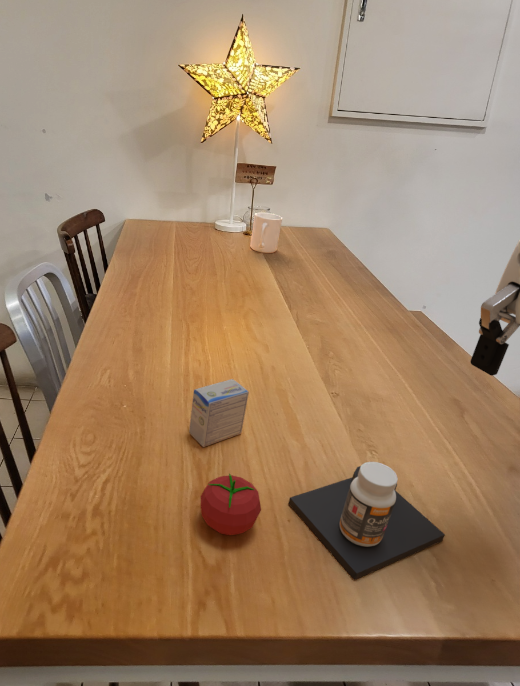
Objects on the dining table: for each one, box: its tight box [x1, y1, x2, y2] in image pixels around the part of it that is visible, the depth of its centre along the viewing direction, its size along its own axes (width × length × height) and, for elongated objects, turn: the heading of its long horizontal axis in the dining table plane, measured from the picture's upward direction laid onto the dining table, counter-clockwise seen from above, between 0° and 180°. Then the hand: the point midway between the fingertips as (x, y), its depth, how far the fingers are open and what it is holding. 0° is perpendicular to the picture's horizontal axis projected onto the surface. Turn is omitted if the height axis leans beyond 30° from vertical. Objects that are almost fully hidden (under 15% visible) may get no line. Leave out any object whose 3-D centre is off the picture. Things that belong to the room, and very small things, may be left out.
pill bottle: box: [340, 461, 399, 547], centre depth 69 cm, size 6×6×10 cm
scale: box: [288, 465, 446, 581], centre depth 74 cm, size 16×14×3 cm
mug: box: [249, 211, 283, 254], centre depth 184 cm, size 10×12×12 cm
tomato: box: [200, 473, 262, 536], centre depth 70 cm, size 8×8×8 cm
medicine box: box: [188, 378, 250, 448], centre depth 87 cm, size 8×4×9 cm, turn 126°
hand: (508, 363), depth 64 cm, fingers open, 9 cm apart
